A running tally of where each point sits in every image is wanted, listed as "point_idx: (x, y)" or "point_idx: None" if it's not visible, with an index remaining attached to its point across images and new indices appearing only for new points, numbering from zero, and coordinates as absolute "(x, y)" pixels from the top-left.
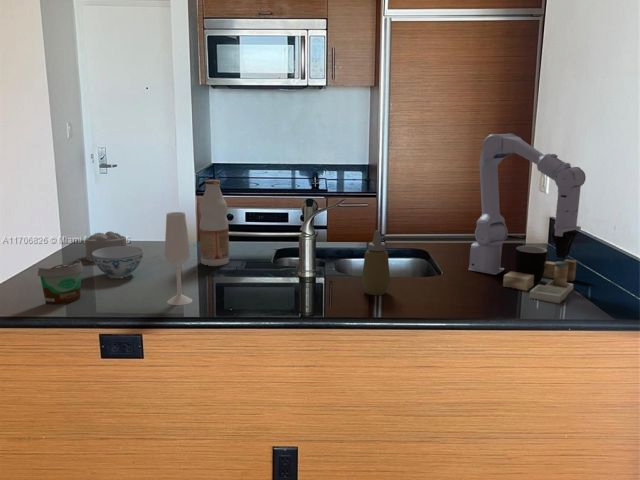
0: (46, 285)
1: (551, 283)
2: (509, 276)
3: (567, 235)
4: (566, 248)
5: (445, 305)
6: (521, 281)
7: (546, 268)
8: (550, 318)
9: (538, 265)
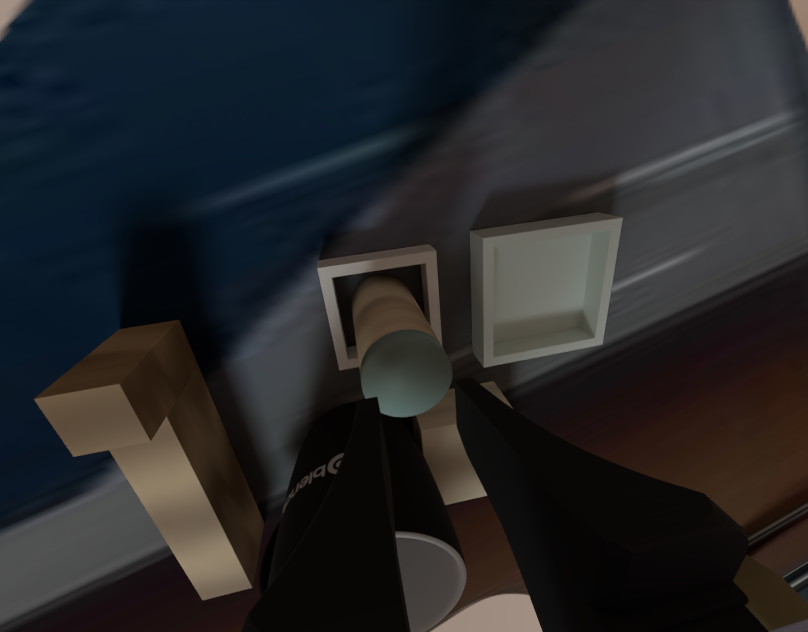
0: None
1: None
2: None
3: (662, 595)
4: (536, 427)
5: (759, 439)
6: None
7: (212, 465)
8: (796, 160)
9: (409, 464)
